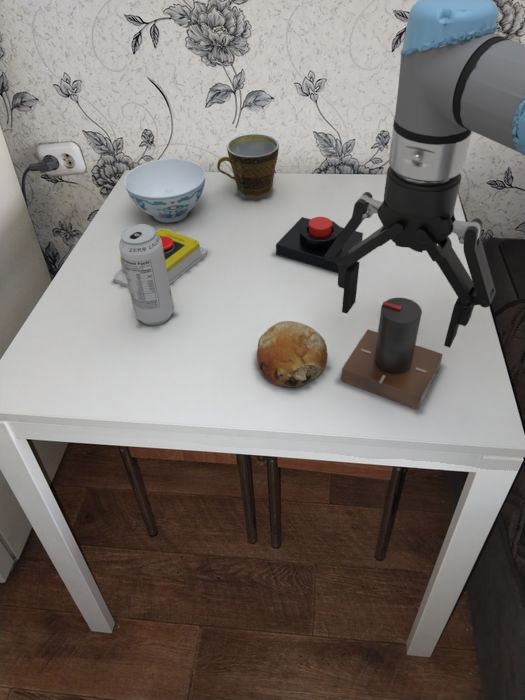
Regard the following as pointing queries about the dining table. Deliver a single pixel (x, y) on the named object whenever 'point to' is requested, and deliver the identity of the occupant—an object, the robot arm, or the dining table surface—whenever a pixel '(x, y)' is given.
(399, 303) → the dial
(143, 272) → the energy drink can
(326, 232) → the button
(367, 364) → the dial panel
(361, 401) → the dining table surface
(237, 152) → the ceramic cup
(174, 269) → the emergency button
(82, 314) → the dining table surface
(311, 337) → the bread roll
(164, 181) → the chinaware
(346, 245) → the button box
